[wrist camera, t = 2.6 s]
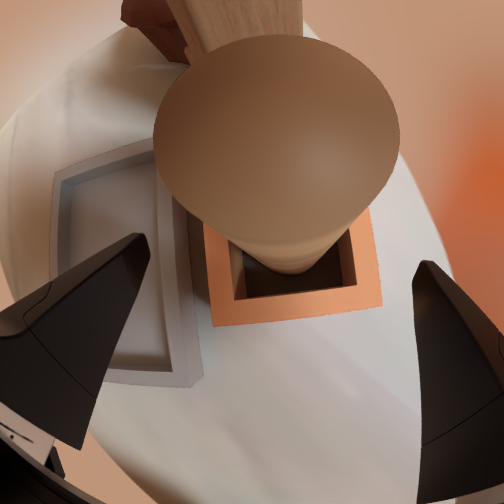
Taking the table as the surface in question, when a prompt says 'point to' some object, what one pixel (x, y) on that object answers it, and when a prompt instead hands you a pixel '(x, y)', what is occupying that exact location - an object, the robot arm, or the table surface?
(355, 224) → the orange square ring
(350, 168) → the dowel pin
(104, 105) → the table surface
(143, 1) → the muffin
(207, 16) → the wooden block
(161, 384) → the tray
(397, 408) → the table surface
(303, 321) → the table surface
